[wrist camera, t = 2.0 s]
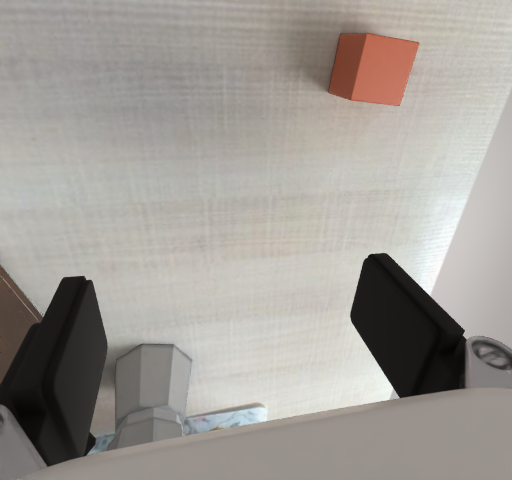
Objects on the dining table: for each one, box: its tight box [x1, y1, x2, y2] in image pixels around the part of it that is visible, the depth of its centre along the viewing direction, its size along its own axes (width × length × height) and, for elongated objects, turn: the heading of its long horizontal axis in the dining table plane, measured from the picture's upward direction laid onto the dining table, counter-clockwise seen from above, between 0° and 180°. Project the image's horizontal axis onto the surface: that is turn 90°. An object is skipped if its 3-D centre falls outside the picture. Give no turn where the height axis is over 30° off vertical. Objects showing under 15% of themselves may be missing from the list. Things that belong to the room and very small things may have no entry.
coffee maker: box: [83, 344, 192, 457], centre depth 30 cm, size 15×9×18 cm, turn 75°
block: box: [328, 33, 419, 106], centre depth 24 cm, size 4×4×4 cm
